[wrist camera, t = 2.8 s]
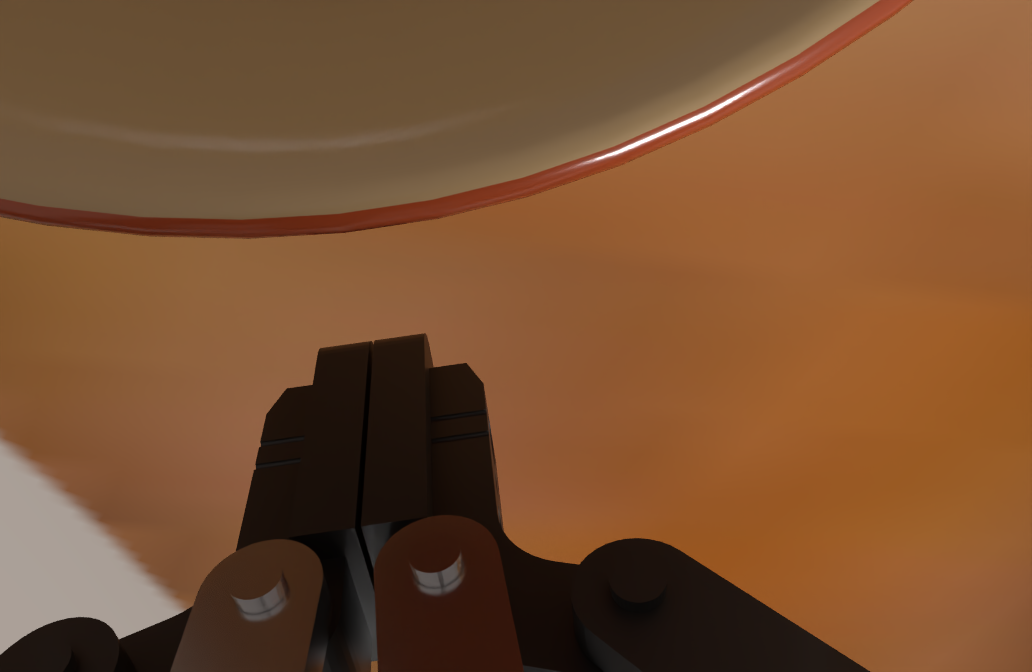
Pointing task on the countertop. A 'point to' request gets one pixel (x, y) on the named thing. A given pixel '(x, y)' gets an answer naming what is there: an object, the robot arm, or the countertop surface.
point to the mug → (367, 102)
